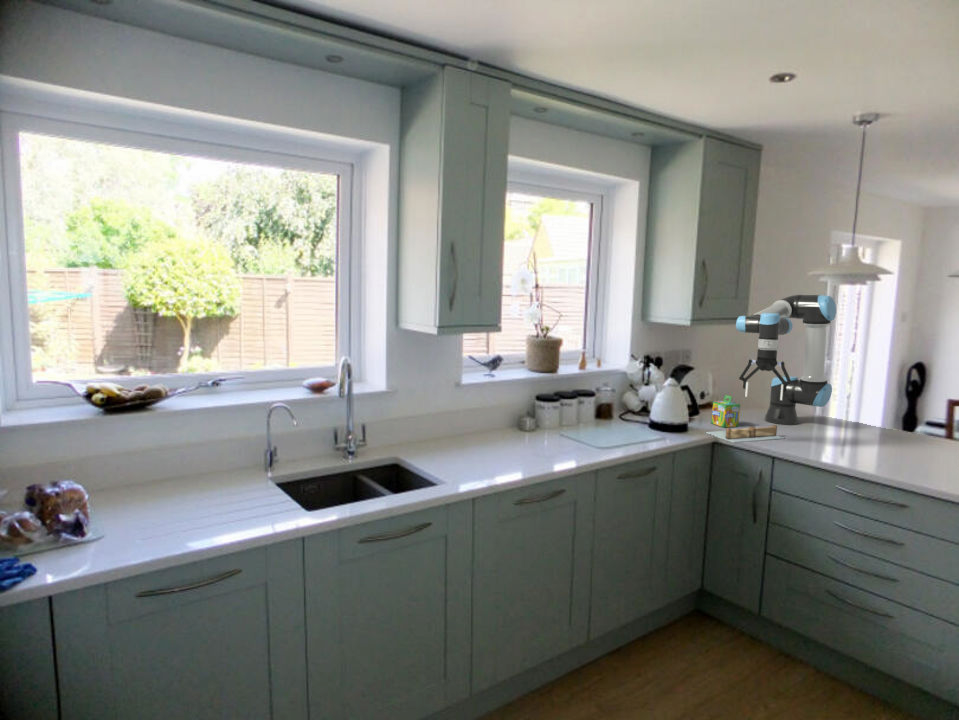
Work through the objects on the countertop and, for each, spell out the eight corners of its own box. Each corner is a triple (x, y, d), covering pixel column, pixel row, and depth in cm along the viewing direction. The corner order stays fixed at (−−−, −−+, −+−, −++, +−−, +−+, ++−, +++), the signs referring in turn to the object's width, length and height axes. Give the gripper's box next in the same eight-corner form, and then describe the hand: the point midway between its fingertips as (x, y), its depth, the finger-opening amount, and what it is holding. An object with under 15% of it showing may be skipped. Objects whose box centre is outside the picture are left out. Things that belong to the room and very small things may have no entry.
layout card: (705, 432, 272) (705, 431, 272) (754, 429, 281) (754, 428, 280) (733, 442, 255) (733, 441, 255) (784, 438, 263) (784, 437, 263)
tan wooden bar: (746, 436, 264) (747, 426, 263) (749, 437, 262) (750, 427, 262) (724, 437, 260) (725, 428, 260) (727, 438, 258) (728, 429, 258)
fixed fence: (747, 436, 264) (747, 426, 264) (773, 434, 269) (774, 424, 268) (751, 437, 262) (751, 427, 262) (777, 435, 267) (778, 426, 266)
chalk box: (710, 423, 291) (712, 394, 289) (725, 422, 294) (727, 393, 292) (723, 428, 282) (725, 397, 281) (739, 427, 285) (741, 397, 284)
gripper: (735, 347, 253) (731, 396, 255) (800, 351, 241) (796, 402, 243) (736, 346, 259) (733, 393, 262) (800, 350, 248) (796, 399, 250)
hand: (763, 398), depth 253 cm, fingers open, 13 cm apart
